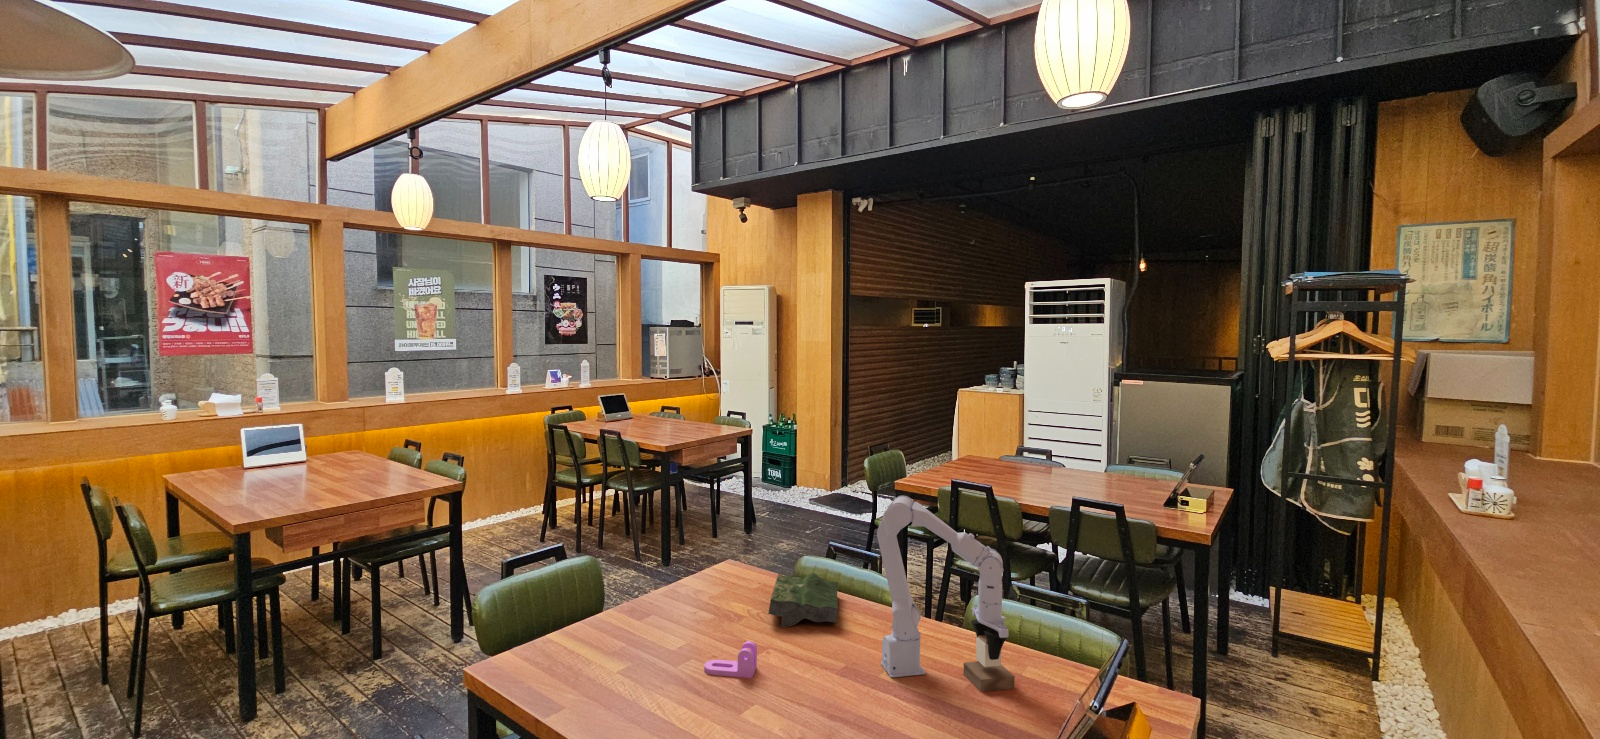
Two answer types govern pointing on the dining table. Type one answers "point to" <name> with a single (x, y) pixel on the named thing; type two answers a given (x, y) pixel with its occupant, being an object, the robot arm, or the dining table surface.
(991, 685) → the block
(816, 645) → the dining table surface
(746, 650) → the bracket
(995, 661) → the cream cardboard box
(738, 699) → the dining table surface
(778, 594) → the landscape model
